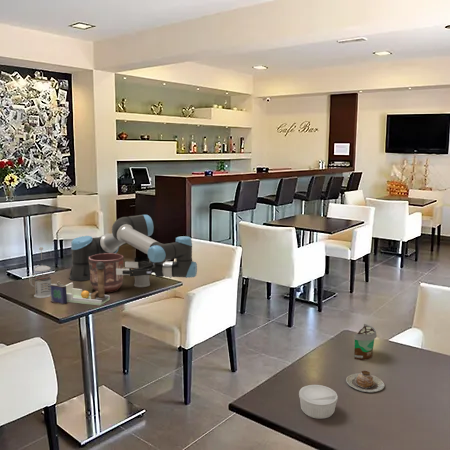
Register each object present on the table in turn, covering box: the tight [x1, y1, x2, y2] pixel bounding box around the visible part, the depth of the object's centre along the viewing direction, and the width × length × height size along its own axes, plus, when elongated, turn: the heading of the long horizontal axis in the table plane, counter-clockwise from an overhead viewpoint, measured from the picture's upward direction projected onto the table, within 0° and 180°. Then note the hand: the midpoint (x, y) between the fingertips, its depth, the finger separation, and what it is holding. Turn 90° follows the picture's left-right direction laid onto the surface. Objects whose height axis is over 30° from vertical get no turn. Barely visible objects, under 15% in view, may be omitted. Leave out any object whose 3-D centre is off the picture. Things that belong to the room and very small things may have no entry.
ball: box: [81, 290, 90, 299], centre depth 239 cm, size 4×4×4 cm
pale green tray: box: [65, 281, 111, 306], centre depth 238 cm, size 9×22×7 cm, turn 74°
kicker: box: [91, 262, 108, 301], centre depth 235 cm, size 6×6×19 cm
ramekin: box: [298, 384, 338, 420], centre depth 141 cm, size 11×11×5 cm
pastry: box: [345, 370, 385, 394], centre depth 157 cm, size 12×12×5 cm
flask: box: [50, 280, 68, 305], centre depth 235 cm, size 9×3×11 cm, turn 65°
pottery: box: [88, 253, 125, 294], centre depth 255 cm, size 18×18×18 cm
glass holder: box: [133, 256, 151, 288], centre depth 267 cm, size 9×14×15 cm, turn 162°
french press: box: [28, 246, 52, 299], centre depth 245 cm, size 10×12×25 cm
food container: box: [353, 323, 378, 361], centre depth 177 cm, size 12×6×10 cm, turn 148°
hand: (120, 268), depth 232 cm, fingers open, 13 cm apart
